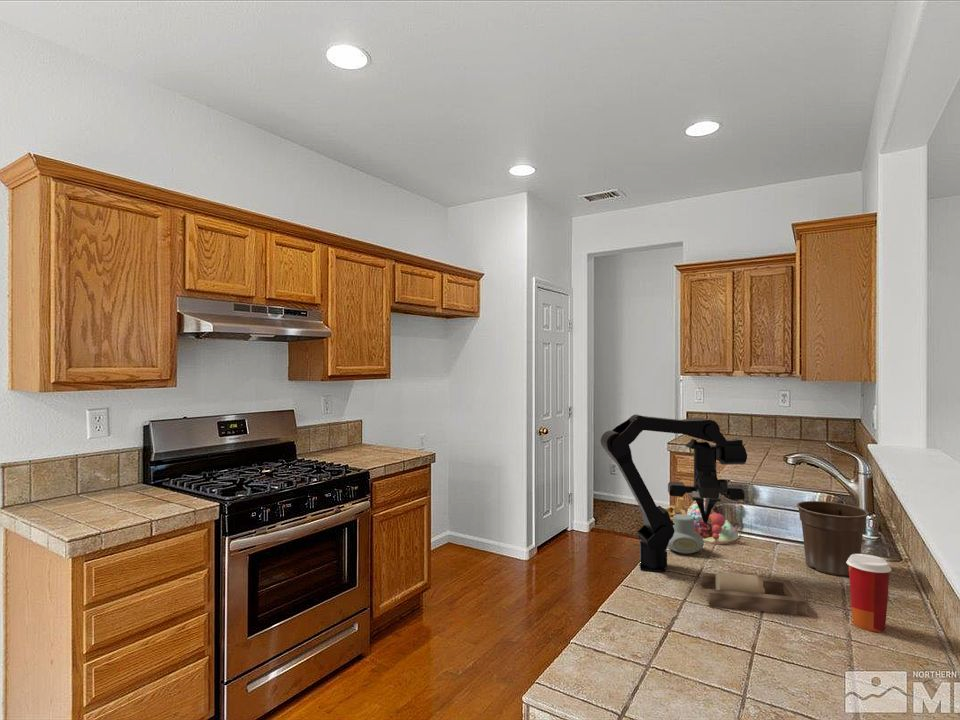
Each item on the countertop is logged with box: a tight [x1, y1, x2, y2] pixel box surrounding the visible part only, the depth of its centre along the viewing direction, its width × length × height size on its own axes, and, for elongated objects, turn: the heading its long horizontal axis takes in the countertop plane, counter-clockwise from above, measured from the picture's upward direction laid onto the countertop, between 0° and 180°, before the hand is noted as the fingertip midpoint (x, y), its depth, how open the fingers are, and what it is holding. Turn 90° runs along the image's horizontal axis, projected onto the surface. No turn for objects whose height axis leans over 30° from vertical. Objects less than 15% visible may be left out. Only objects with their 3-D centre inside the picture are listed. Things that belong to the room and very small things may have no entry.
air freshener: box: [667, 514, 705, 555], centre depth 160 cm, size 11×8×10 cm
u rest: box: [700, 572, 808, 616], centre depth 127 cm, size 20×12×3 cm, turn 76°
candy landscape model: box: [665, 496, 740, 545], centre depth 179 cm, size 25×24×9 cm
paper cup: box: [846, 553, 892, 633], centre depth 115 cm, size 8×8×14 cm
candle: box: [715, 571, 765, 594], centre depth 128 cm, size 6×6×10 cm
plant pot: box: [796, 500, 869, 576], centre depth 146 cm, size 16×16×16 cm
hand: (704, 522), depth 147 cm, fingers closed
